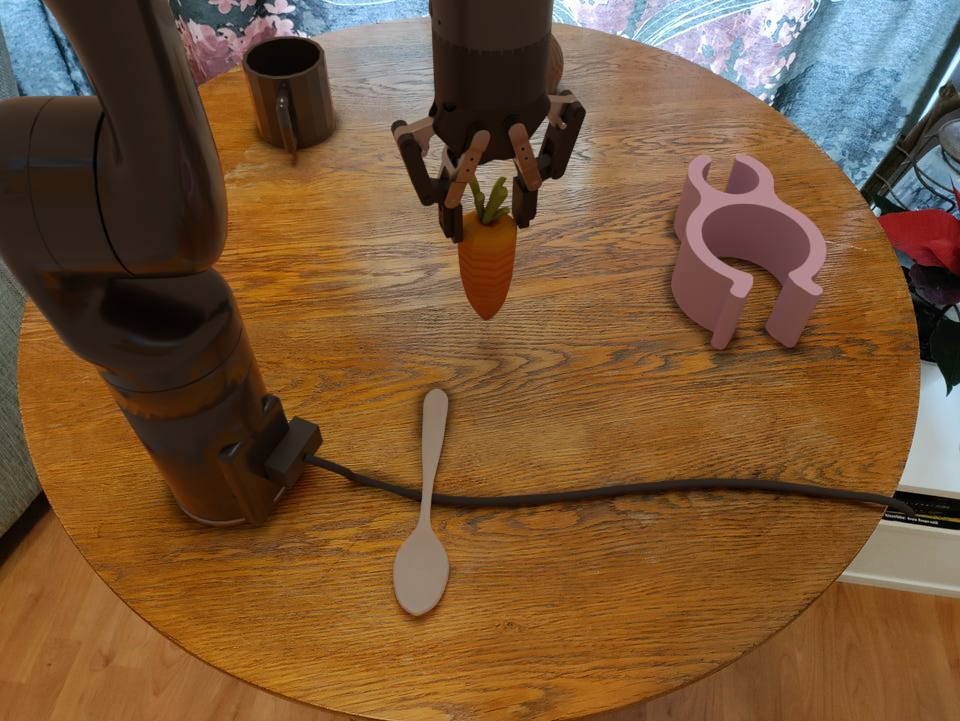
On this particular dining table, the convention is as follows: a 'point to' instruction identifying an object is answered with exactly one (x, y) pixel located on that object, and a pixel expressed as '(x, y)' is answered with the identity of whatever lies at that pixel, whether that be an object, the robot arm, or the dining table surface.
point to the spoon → (424, 524)
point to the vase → (554, 66)
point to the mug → (290, 91)
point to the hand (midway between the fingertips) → (488, 228)
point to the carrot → (487, 250)
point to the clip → (743, 251)
